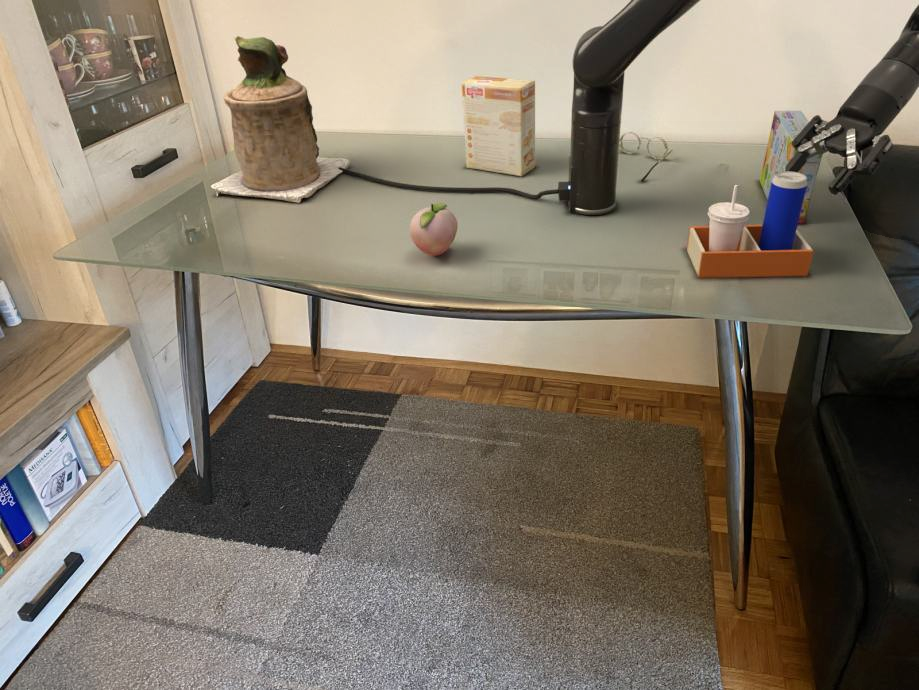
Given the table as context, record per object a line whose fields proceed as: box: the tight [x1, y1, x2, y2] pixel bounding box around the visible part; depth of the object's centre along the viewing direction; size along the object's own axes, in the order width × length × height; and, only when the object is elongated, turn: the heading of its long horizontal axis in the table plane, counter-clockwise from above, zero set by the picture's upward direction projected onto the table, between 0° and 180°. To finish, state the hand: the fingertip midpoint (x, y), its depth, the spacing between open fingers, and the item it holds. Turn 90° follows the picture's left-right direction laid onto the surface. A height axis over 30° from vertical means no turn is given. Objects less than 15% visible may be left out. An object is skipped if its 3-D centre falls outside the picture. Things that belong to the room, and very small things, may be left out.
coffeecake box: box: [461, 75, 536, 177], centre depth 155 cm, size 15×7×20 cm, turn 58°
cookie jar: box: [210, 35, 351, 204], centre depth 153 cm, size 25×25×32 cm
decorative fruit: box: [409, 202, 459, 256], centre depth 123 cm, size 9×8×10 cm
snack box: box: [759, 110, 824, 224], centre depth 132 cm, size 21×6×15 cm, turn 168°
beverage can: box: [758, 171, 807, 251], centre depth 112 cm, size 5×5×15 cm
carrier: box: [685, 224, 814, 279], centre depth 115 cm, size 17×10×4 cm, turn 86°
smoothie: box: [707, 184, 751, 252], centre depth 113 cm, size 6×6×14 cm
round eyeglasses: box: [619, 131, 673, 182], centre depth 156 cm, size 17×15×5 cm
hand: (809, 183), depth 110 cm, fingers open, 8 cm apart
